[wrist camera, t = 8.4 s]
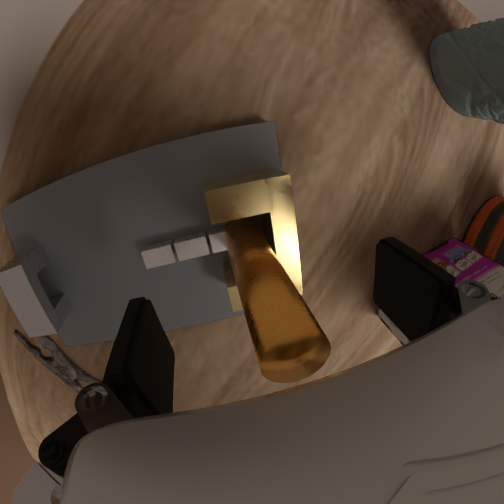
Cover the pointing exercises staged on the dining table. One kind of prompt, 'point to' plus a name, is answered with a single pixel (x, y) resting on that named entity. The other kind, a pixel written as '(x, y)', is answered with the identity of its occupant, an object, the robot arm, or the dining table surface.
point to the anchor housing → (32, 294)
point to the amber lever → (258, 298)
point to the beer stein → (488, 230)
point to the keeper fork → (271, 213)
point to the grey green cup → (471, 69)
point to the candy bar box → (459, 272)
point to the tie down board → (137, 231)
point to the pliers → (58, 362)
